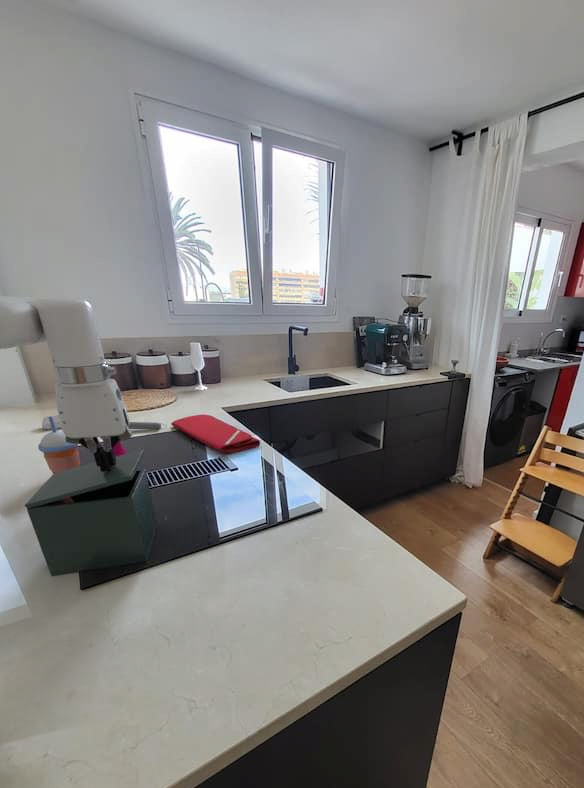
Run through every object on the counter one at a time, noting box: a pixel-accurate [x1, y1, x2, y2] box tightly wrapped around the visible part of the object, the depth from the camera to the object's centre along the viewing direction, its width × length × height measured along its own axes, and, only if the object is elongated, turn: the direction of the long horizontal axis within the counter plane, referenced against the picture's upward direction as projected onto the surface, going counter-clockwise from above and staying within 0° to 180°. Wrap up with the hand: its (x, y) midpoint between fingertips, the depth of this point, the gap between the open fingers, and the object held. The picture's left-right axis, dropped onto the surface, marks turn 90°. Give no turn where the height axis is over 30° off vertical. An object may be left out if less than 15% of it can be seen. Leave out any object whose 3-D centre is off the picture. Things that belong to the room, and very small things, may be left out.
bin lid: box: [24, 449, 146, 510], centre depth 76 cm, size 18×14×1 cm
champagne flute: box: [189, 342, 208, 391], centre depth 211 cm, size 7×7×24 cm
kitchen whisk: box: [129, 421, 168, 430], centre depth 148 cm, size 6×34×6 cm, turn 102°
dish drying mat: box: [170, 414, 261, 454], centre depth 147 cm, size 16×41×4 cm, turn 45°
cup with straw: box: [37, 416, 81, 475], centre depth 109 cm, size 9×9×18 cm
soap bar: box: [41, 414, 62, 430], centre depth 152 cm, size 10×6×6 cm, turn 121°
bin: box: [26, 468, 158, 577], centre depth 80 cm, size 17×14×15 cm
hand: (108, 468), depth 76 cm, fingers closed
